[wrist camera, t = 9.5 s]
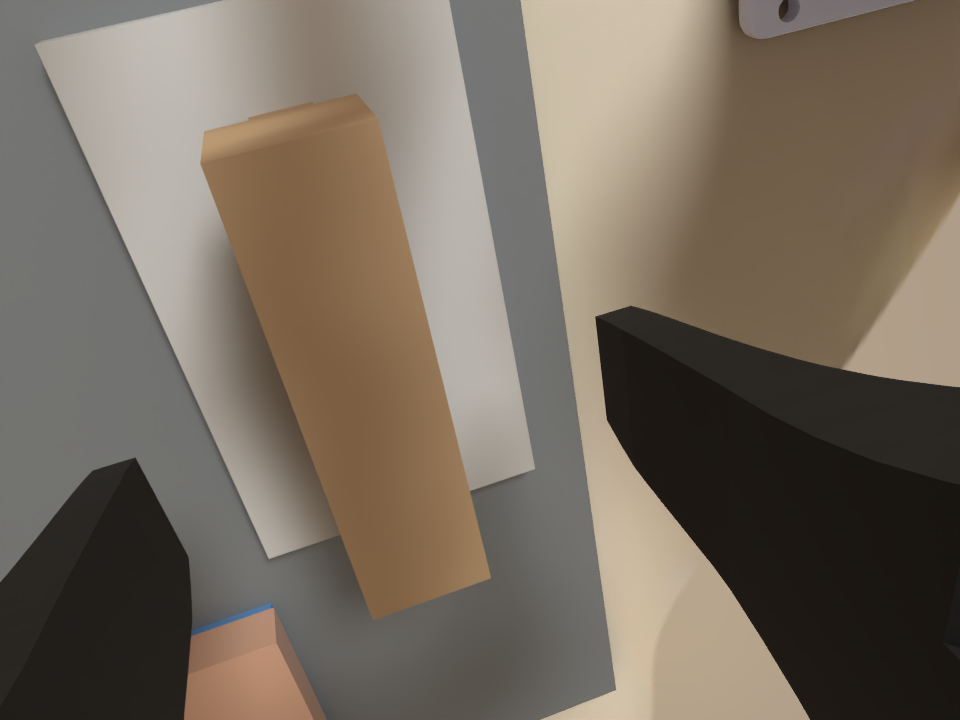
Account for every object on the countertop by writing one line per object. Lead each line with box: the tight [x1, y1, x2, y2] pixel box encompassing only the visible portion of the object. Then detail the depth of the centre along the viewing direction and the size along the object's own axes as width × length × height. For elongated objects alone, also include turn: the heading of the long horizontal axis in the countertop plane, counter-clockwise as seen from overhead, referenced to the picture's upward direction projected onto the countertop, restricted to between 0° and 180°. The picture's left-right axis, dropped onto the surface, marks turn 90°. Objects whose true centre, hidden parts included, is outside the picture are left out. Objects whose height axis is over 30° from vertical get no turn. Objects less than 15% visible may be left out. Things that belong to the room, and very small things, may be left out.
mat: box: [0, 0, 616, 720], centre depth 18 cm, size 21×26×1 cm
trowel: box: [35, 0, 535, 620], centre depth 15 cm, size 7×12×5 cm, turn 11°
